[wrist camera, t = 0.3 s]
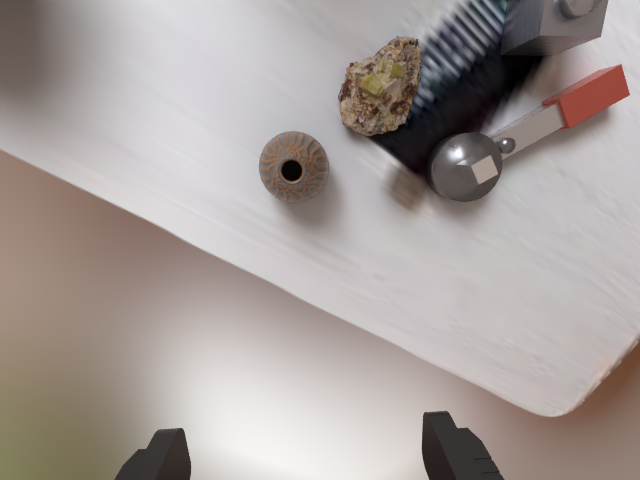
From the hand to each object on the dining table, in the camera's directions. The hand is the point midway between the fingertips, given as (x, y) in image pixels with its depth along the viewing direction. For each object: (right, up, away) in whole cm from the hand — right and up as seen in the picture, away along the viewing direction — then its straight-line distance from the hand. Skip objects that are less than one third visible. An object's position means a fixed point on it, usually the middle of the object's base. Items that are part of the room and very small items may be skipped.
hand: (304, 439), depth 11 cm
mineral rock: (+7, +23, +24) cm, 34 cm away
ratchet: (+22, +18, +25) cm, 38 cm away
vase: (-2, +15, +25) cm, 30 cm away
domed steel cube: (+22, +28, +22) cm, 42 cm away
